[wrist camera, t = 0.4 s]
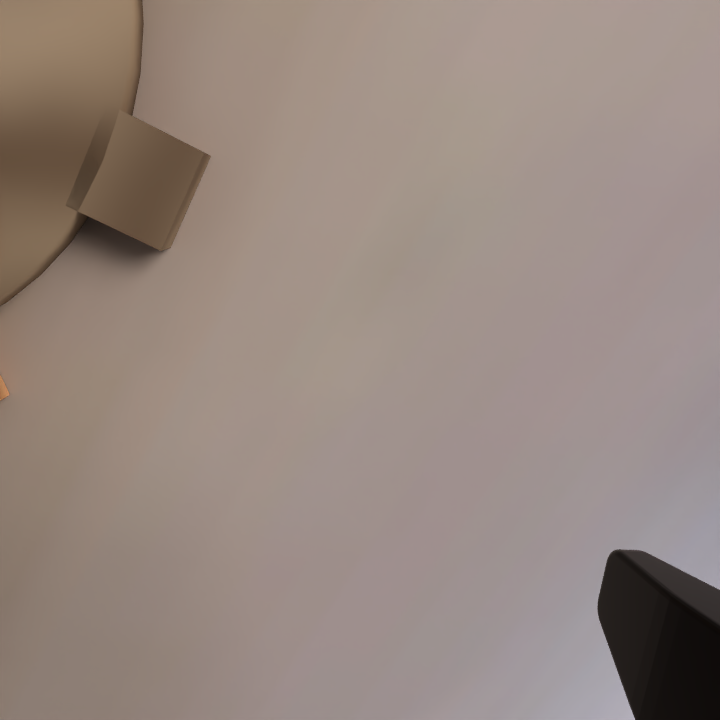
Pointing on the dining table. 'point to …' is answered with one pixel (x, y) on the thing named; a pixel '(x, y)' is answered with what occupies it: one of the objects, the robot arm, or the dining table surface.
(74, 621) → the dining table surface
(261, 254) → the dining table surface
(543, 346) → the dining table surface
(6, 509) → the dining table surface
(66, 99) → the sprocket plate
